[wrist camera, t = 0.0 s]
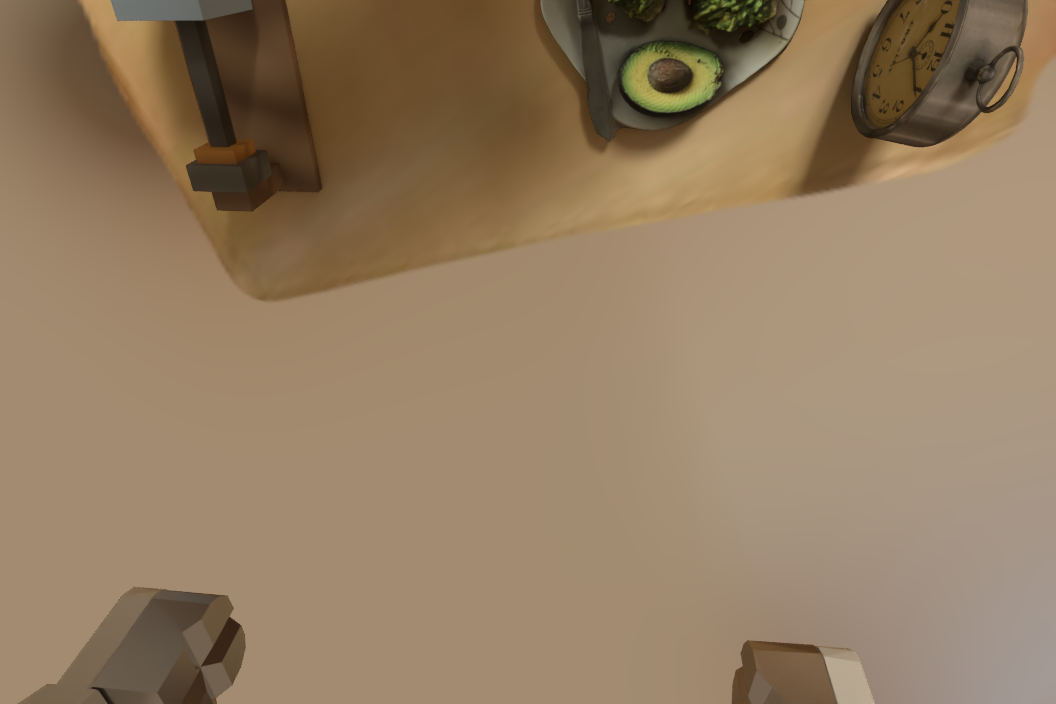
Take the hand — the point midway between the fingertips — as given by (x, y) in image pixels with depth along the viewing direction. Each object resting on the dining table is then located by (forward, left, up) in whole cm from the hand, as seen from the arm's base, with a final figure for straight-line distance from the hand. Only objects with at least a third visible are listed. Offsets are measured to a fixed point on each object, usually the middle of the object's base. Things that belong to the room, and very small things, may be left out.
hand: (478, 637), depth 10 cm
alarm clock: (-2, +23, -48) cm, 53 cm away
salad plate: (-5, +6, -49) cm, 49 cm away
